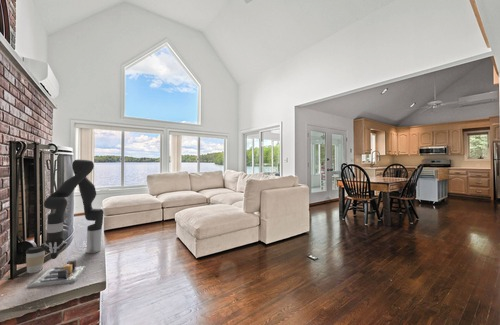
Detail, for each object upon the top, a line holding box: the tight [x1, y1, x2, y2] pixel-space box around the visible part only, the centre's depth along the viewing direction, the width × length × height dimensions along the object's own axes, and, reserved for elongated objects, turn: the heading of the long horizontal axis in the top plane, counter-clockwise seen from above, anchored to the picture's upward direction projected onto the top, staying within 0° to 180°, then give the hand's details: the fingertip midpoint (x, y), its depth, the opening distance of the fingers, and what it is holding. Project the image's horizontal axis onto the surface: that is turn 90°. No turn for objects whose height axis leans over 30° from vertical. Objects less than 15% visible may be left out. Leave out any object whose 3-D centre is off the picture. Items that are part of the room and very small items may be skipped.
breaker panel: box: [26, 260, 87, 288], centre depth 131 cm, size 16×22×7 cm
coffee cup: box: [25, 245, 46, 274], centre depth 137 cm, size 9×9×15 cm
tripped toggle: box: [62, 263, 72, 273], centre depth 132 cm, size 2×4×5 cm, turn 109°
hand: (54, 258), depth 130 cm, fingers closed
